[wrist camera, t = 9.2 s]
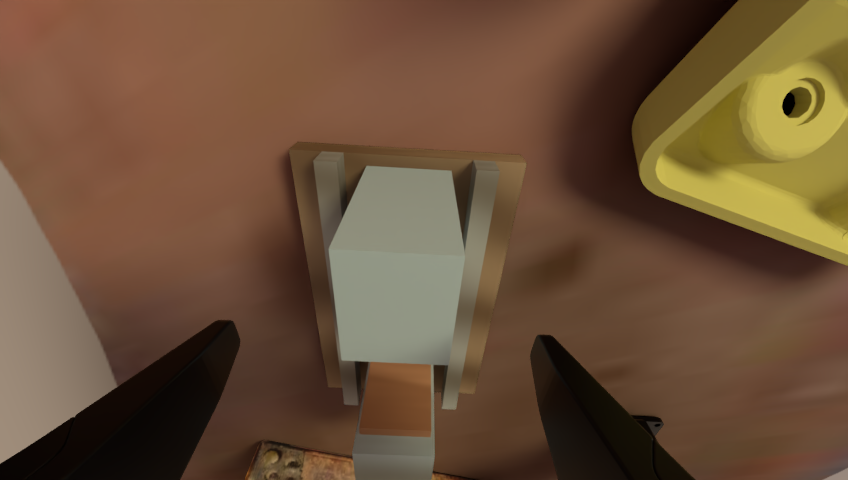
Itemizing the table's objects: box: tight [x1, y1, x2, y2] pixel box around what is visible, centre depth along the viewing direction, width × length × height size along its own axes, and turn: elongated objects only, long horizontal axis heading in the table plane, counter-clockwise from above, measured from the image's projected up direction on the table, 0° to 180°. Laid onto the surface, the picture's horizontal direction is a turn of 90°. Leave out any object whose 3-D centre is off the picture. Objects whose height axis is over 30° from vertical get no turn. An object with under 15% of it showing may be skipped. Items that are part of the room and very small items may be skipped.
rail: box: [289, 142, 527, 480], centre depth 18 cm, size 18×11×8 cm, turn 177°
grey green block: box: [329, 166, 465, 365], centre depth 14 cm, size 6×4×7 cm
